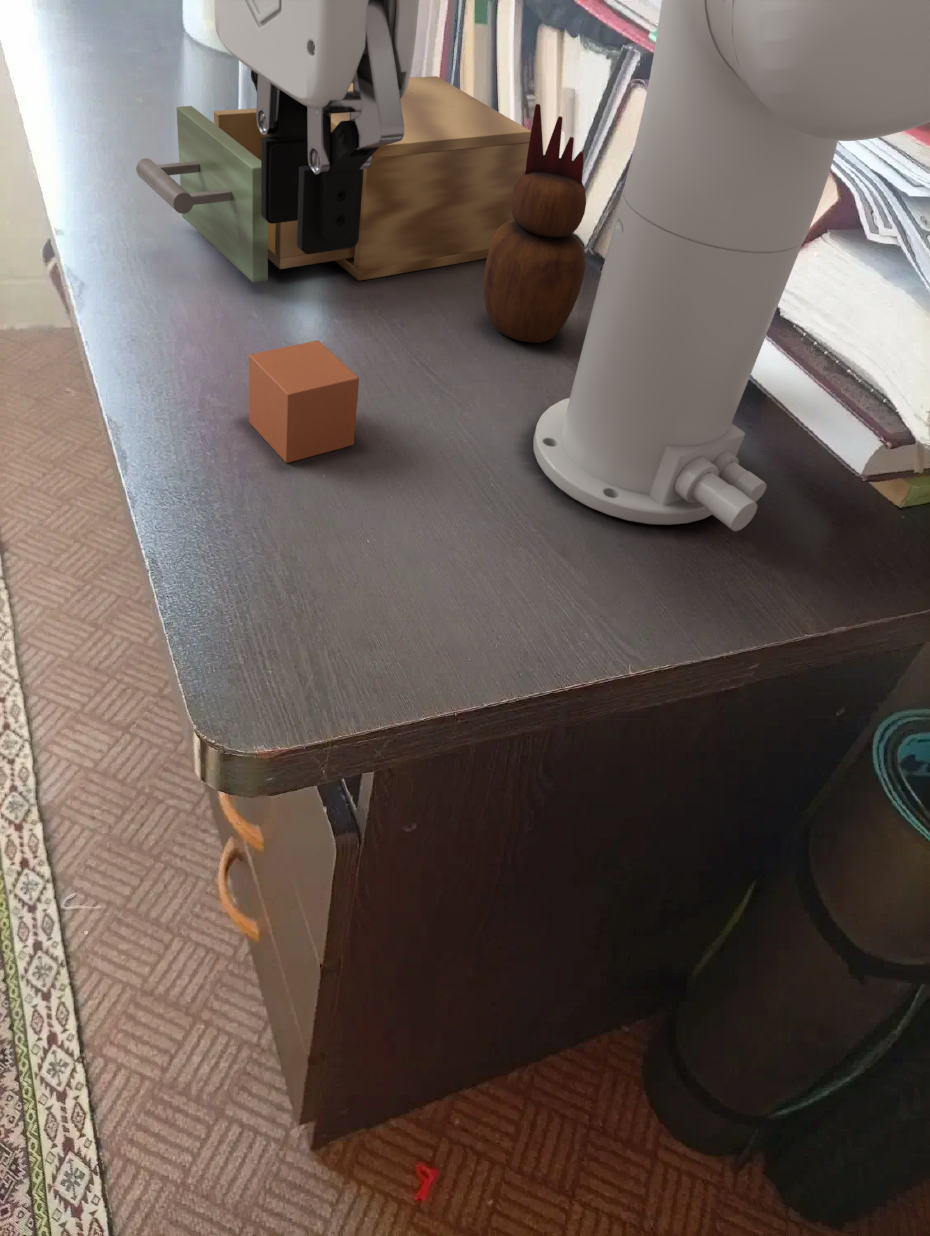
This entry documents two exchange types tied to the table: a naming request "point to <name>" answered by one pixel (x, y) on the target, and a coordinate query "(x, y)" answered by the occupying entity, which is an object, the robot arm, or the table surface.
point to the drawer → (228, 192)
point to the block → (302, 400)
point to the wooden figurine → (538, 244)
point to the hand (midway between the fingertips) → (309, 229)
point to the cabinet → (437, 183)
